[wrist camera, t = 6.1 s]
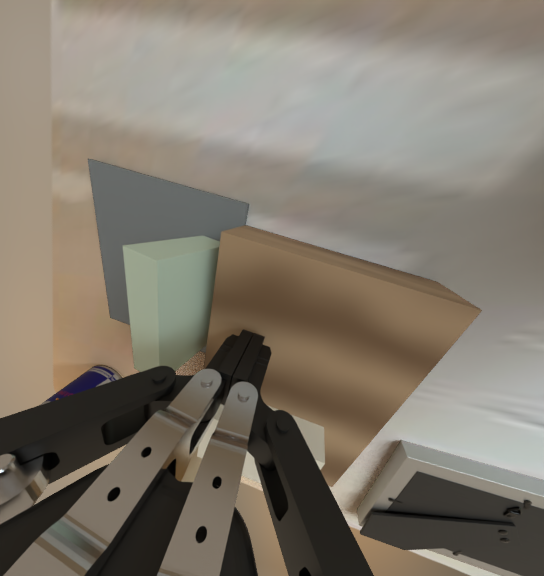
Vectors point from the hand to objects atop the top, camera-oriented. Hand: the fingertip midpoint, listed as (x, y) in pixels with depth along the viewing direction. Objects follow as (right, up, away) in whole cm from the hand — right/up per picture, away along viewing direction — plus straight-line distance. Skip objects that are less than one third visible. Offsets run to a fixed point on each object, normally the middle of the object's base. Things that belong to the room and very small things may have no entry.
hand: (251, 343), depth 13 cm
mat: (-8, +5, +5) cm, 11 cm away
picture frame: (+24, -20, +9) cm, 33 cm away
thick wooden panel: (+4, -3, +5) cm, 7 cm away
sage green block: (-4, +2, +1) cm, 5 cm away
